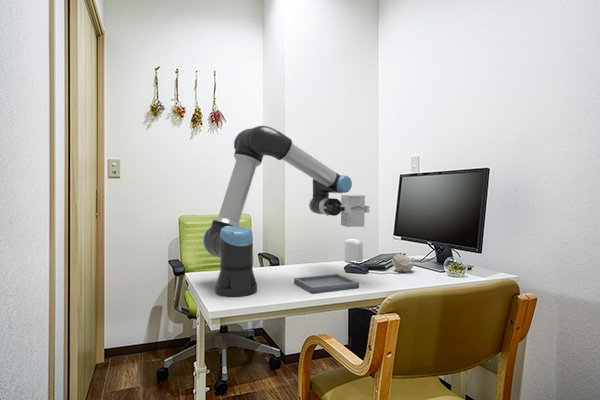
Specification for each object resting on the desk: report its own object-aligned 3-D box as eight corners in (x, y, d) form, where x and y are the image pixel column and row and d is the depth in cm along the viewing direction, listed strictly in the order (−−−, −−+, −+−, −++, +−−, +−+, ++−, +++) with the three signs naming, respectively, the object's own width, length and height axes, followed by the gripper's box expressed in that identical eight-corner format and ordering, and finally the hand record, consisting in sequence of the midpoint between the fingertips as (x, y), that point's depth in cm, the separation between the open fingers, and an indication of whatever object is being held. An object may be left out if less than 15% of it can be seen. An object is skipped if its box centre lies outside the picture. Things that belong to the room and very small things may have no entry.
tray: (312, 293, 136) (312, 287, 136) (294, 283, 150) (294, 278, 150) (358, 288, 144) (358, 282, 144) (337, 278, 159) (337, 273, 159)
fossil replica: (409, 268, 182) (388, 270, 181) (407, 251, 182) (387, 253, 182) (418, 272, 170) (396, 274, 169) (416, 253, 170) (394, 255, 170)
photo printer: (343, 261, 198) (343, 238, 197) (349, 260, 200) (349, 237, 200) (358, 264, 190) (358, 240, 189) (363, 263, 192) (364, 239, 192)
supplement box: (347, 227, 147) (348, 194, 147) (340, 225, 154) (340, 194, 154) (365, 226, 149) (365, 195, 149) (357, 225, 156) (357, 194, 156)
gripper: (350, 214, 172) (381, 218, 152) (309, 215, 164) (336, 219, 143) (350, 198, 172) (381, 199, 151) (309, 198, 163) (336, 199, 143)
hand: (359, 209), depth 147 cm, fingers closed on supplement box, 8 cm apart
